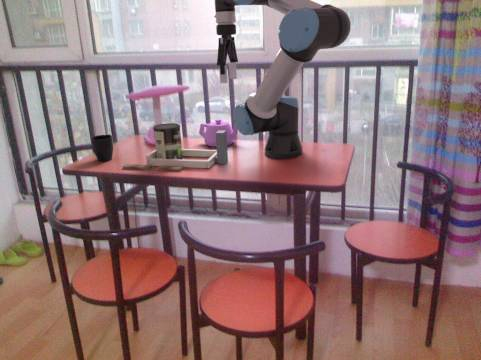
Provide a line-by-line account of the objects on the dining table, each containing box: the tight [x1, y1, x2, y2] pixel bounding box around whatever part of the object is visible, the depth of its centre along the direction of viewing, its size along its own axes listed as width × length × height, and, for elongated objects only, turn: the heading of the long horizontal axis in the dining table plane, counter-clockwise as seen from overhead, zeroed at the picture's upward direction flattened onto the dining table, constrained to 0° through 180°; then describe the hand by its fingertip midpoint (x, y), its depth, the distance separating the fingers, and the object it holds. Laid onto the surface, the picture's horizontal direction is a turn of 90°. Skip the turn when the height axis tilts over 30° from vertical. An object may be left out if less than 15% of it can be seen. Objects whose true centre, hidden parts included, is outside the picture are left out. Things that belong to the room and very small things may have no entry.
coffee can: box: [152, 122, 184, 160], centre depth 164 cm, size 10×10×14 cm
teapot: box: [198, 118, 239, 148], centre depth 186 cm, size 13×20×11 cm, turn 72°
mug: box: [90, 133, 114, 163], centre depth 172 cm, size 8×12×10 cm
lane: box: [145, 130, 229, 169], centre depth 162 cm, size 30×15×12 cm, turn 75°
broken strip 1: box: [122, 163, 154, 171], centre depth 159 cm, size 11×3×1 cm, turn 75°
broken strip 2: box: [157, 165, 185, 172], centre depth 156 cm, size 9×3×1 cm, turn 75°
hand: (228, 81), depth 167 cm, fingers open, 13 cm apart
